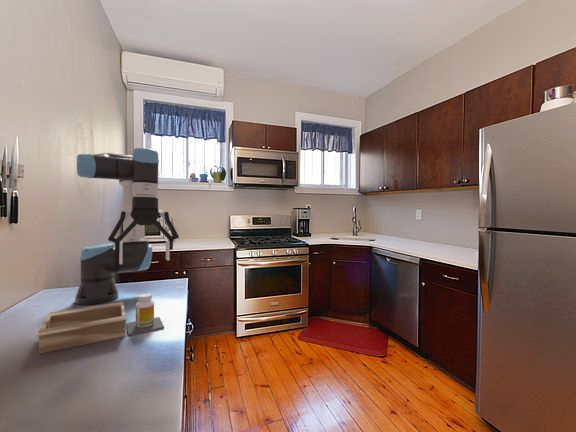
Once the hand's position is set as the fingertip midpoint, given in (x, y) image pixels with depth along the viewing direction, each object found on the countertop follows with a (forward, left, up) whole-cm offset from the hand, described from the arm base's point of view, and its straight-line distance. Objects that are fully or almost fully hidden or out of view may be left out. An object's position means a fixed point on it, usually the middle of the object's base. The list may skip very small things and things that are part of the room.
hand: (145, 261), depth 89 cm
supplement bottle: (0, 0, -21) cm, 21 cm away
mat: (0, 0, -21) cm, 21 cm away
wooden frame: (-2, -15, -21) cm, 26 cm away
